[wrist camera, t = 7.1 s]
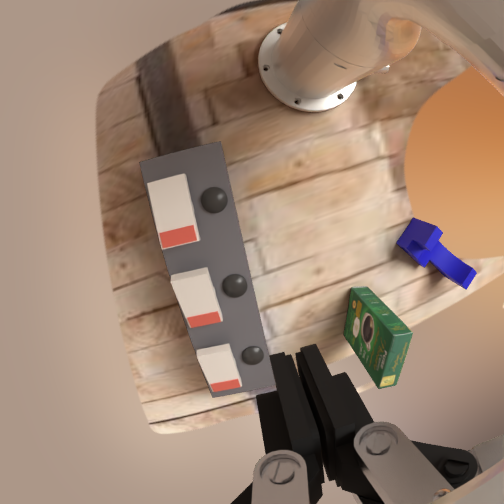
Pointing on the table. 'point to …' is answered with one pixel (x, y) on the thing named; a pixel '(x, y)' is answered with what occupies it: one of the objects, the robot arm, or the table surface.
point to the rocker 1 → (173, 211)
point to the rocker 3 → (219, 367)
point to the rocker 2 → (197, 297)
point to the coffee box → (376, 336)
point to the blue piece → (434, 252)
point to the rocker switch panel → (217, 261)
